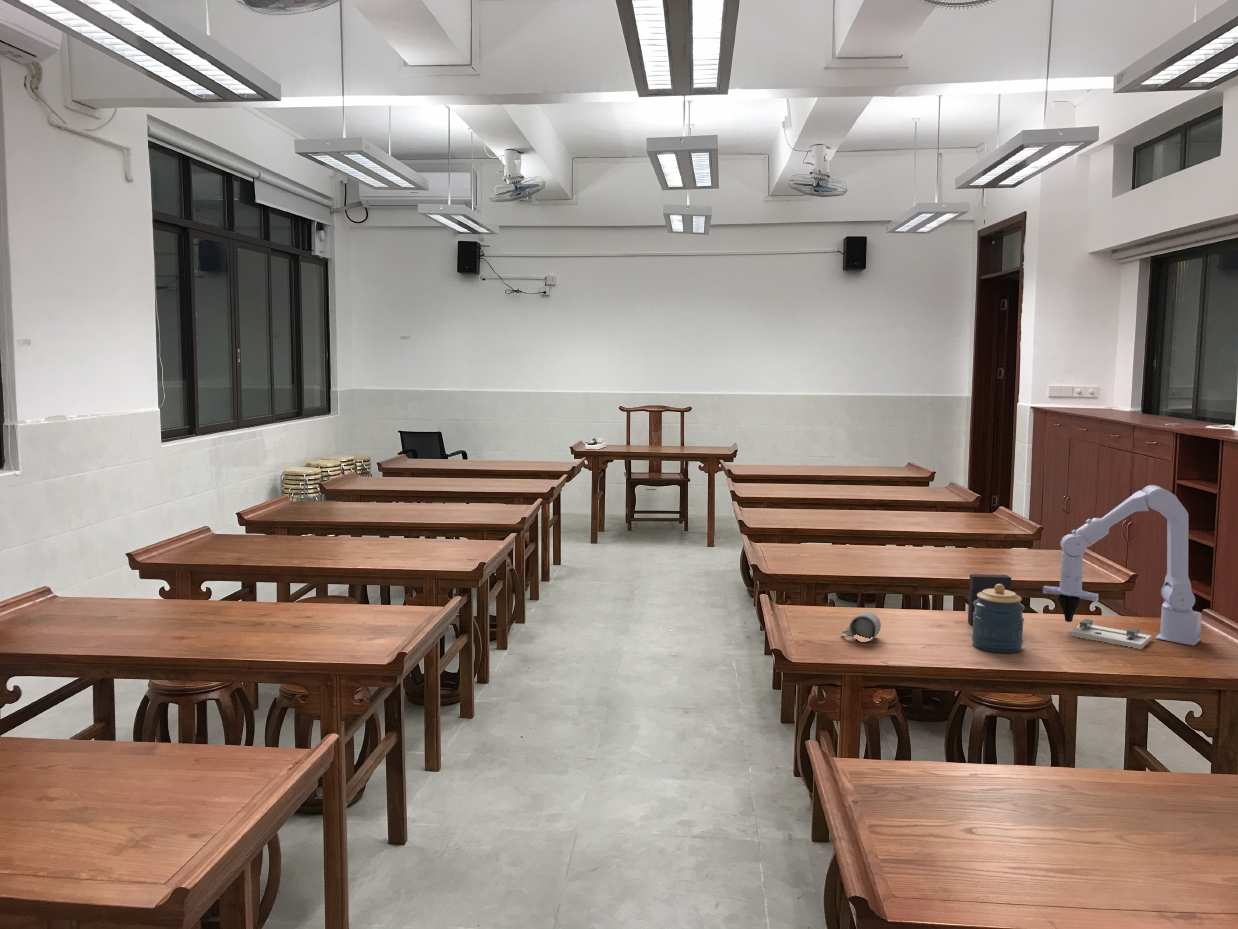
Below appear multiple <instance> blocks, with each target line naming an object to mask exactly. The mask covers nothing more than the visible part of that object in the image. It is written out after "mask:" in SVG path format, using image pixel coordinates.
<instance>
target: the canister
mask: <svg viewBox="0 0 1238 929" xmlns="http://www.w3.org/2000/svg"><path fill="white" fill-rule="evenodd" d="M977 597H979V598H978V599H977V600H975V601H974V602H973V604H974V606H975V612H974V613H973V625H972V634H971V641H972V645H973V646H974V647H975V648H977V649H980V650H982V651H986V652H991V653H997V654H1014V653H1015V654H1016V653H1018V652H1020V651H1022V648H1023V644H1024V640H1023V636H1024V635H1023V634H1024V621H1025V618H1024V617H1023V611H1024V610H1025V608H1026V607H1025V605H1024V604H1022V603H1021V601H1022V597H1021V596H1020V595H1018V594H1017V593H1016V592H1014V591H1009V590H1005V588H1004V586H1003V585H1002V584H997V585H995V587H994V589H985V590H983V591H982V592H979V593H978V594H977Z"/></svg>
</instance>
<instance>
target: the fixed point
mask: <svg viewBox="0 0 1238 929" xmlns="http://www.w3.org/2000/svg"><path fill="white" fill-rule="evenodd" d="M1126 631H1127V634H1126V636H1127V637H1129V638H1131V637H1133V638H1135V637H1136V636H1137V635H1138V634H1139V633H1140V628H1138V627H1134V626H1133V627H1132V626H1131V627H1130V628H1129V629H1127V630H1126Z"/></svg>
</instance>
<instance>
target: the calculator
mask: <svg viewBox="0 0 1238 929" xmlns="http://www.w3.org/2000/svg"><path fill="white" fill-rule="evenodd" d="M968 584H969V589H968V609H967V611H968V612H967V623H968V624H970V625H971V626H973V613H974V612H975V606H974V604H973V602H974V601H975V600H977V599H978V598H979V597H977V594H978V593H979V592H982V591H983V590H985V589H994V587H995V585H997V584H1002V585H1003V586H1004V588H1005V590H1009V591H1011V590H1012V577H1010V576H1009V575H1008V574H989V573H988V574H987V573H986V574H985V573H984V574H983V573H982V574H981V573H977V574H976V573H971V574H969V582H968Z"/></svg>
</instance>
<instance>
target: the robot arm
mask: <svg viewBox="0 0 1238 929" xmlns="http://www.w3.org/2000/svg"><path fill="white" fill-rule="evenodd" d="M1148 507H1149V508H1150V509H1152V510H1154V511H1156V512H1158V513H1160V514H1161V516H1164V518H1166V520H1167V521H1166V523H1167V525H1166V526H1167V529H1166V530H1167V531H1166V537H1167V538H1166V540H1167V542H1166V549H1167V550H1166V553H1167V554H1166V556H1167V558H1166V560H1167V563H1166V565H1167V566H1166V575H1165V578H1164V583H1163V585H1162V587H1161V589H1160V595H1161V597H1162V599H1163V600H1164V601H1163V603H1162V604H1161V614H1160V628H1159V629H1160V630H1159V631H1160V632H1159V633H1158V634H1157V635H1156V636H1155V639H1156V640H1160V641H1161V640H1163V641H1167V642H1173V643H1177V644H1184V645H1189V646H1196V645H1197V643H1199V641H1201V630H1202V629H1201V628H1202V613H1201V612H1200V611H1197V610H1193V607H1194V605H1195V604H1196V597H1195V595H1194V593H1193V591H1192V584H1191V581H1190V578H1189V512H1188V511H1187V509H1186V508H1185V506H1183V504H1182V502H1181V501H1180V500H1179V499H1178V497H1177V495H1175V494H1174V493H1172V492H1171V491H1169V490H1168V489H1165V488H1162V487H1161V486H1159V485H1156V484H1149V485H1147V486H1145V487H1143V488H1142V489H1141V490H1138V491H1136V492H1134V493H1133V494H1132V495H1131V496H1129V497H1128V498H1126V499H1125V500H1124V501H1122V502H1121V503H1120V504H1119V505H1117V506H1115V507H1114V508H1113V509H1112V510H1111V511H1109V512H1108V513H1107V514H1105V515H1103V517H1094V518H1092V519H1091V518H1088V519H1087V520H1085V523H1084V524H1083V525H1082V526H1080V527H1078V528H1077V529H1072V530H1071V533H1069V534H1066V535H1064V536H1063V537H1062V538H1061V541H1060V542H1059V545H1060V548H1061V549H1062V550H1061V559H1060V571H1059V572H1060V576H1059V586H1050V585H1044V586H1043V587H1042V593H1043V594H1050V595H1054V596H1055V595H1056V596H1058V598H1057V601H1058V602H1059V605H1060V606H1061V609H1062V611H1063V616H1064V621H1065V623H1066V622H1067V623H1071V622H1073V618H1074V615H1075V613H1076V610H1077V608H1078V606H1079V605H1080V603H1081V602H1082V600H1086V601H1092V602H1095V603H1097V602H1098V601H1099V593H1094V592H1089V591H1086V590H1083V588H1082V587H1083V572H1084V560H1083V559H1084V554H1085V553H1086V551H1087V548H1088V547H1091V546H1093V545H1094V544H1095V543H1097V542H1098V541H1100V540H1101V539H1103V538H1104V537H1106V536H1107V535H1109V533H1110V528H1111V527H1112V526H1114V525H1116V524H1117V523H1120V521H1123V519H1126V518H1127V517H1128V516H1130V515H1132V514H1133V513H1135V512H1149V508H1148Z"/></svg>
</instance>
